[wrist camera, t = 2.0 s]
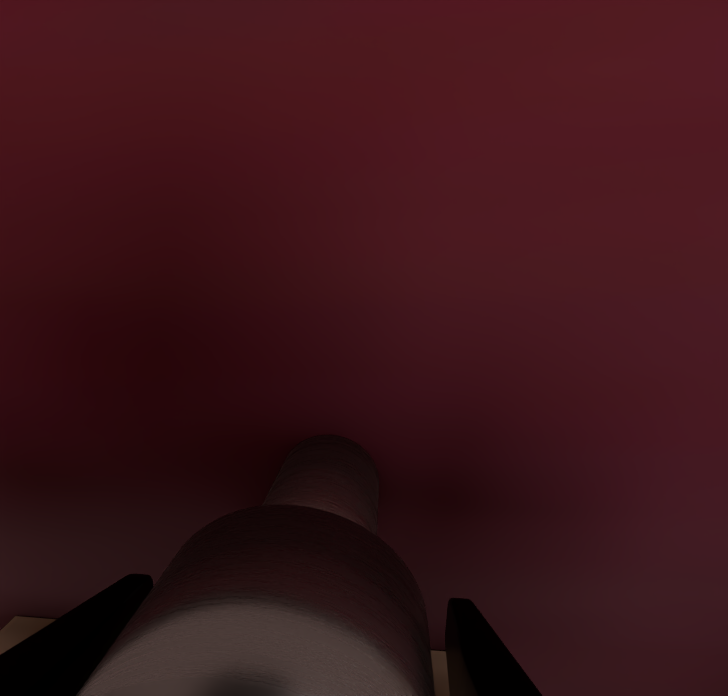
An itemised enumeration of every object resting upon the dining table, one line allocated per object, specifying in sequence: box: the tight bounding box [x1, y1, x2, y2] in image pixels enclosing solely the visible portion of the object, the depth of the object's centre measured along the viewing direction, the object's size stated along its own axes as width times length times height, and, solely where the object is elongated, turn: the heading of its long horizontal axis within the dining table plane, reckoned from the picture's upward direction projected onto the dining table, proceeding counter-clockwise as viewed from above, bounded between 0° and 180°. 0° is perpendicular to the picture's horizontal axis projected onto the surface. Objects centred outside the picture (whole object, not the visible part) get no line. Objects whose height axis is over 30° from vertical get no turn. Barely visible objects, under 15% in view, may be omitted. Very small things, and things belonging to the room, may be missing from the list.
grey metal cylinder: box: [76, 435, 436, 696], centre depth 9 cm, size 5×5×8 cm
